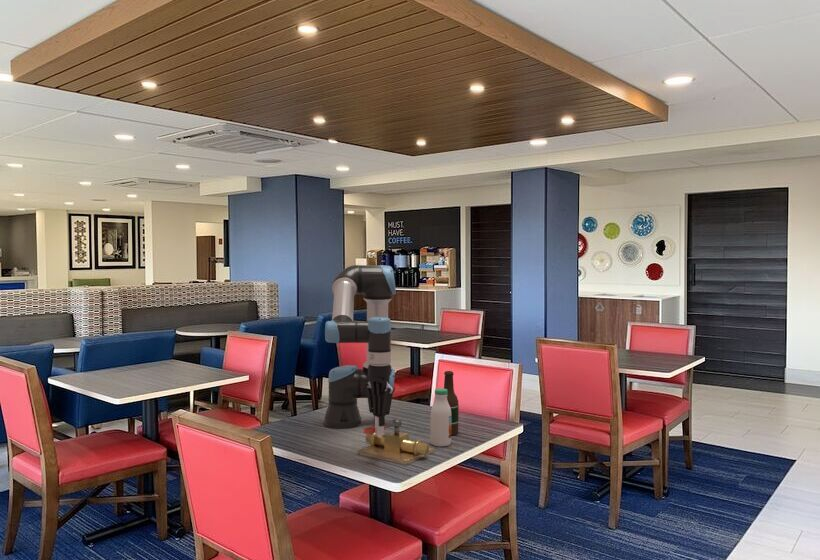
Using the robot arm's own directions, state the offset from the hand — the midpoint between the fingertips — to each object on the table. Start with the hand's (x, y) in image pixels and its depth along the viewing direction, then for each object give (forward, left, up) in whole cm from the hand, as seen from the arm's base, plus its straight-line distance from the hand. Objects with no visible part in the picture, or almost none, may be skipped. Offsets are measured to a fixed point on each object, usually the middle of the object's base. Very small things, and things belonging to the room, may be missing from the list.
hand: (379, 435), depth 207 cm
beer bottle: (+1, +43, -9) cm, 44 cm away
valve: (-1, +11, -9) cm, 14 cm away
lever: (-1, +4, +1) cm, 5 cm away
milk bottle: (+6, +29, -9) cm, 31 cm away
